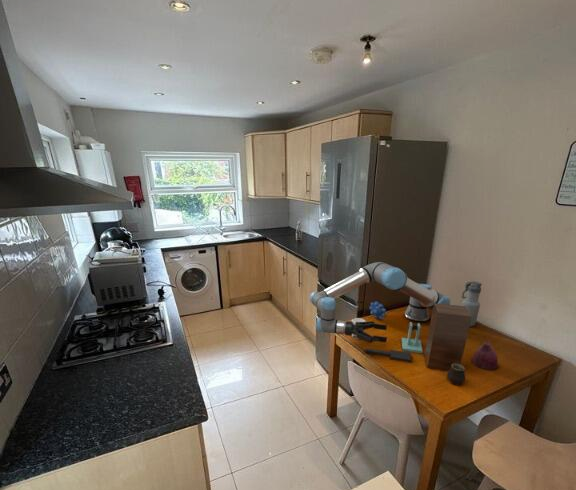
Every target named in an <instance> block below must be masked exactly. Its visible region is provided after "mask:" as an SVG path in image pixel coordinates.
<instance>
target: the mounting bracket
mask: <svg viewBox="0 0 576 490" xmlns="http://www.w3.org/2000/svg"><path fill="white" fill-rule="evenodd" d="M412 324H413V321H412V322H411V321H410V322H409V324H408V332H407V337H401V347H402V348H401V349H402V352H409V353H415V354H423V353H424V352H423V350H424V349H423V346H422V341H421V340H420V339H419V338H420V331H421V329H422V327H421V322H417V324H416V325H417V330H416V331H415V338H411V337H412V331H413V330H412Z"/></svg>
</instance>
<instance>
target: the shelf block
mask: <svg viewBox="0 0 576 490" xmlns="http://www.w3.org/2000/svg"><path fill="white" fill-rule="evenodd" d="M431 312H432V313H431V318H430V324H429V330H428V335H427V340H426V344H425V345H426V346H425V351H424V359H425V363H426V368H427V369H433V370H439V371H445V372H448V371H449V370H450V369H451V365H452V364H460V365H462V360H463V356H464V351H465V347H466V343H467V339H468V335H469V330H470V327H471V326H470V322H471V318H472V316H471V315H470V313H469V311H468V310H467V308H466V306H462V305H456V304H450V305H447V304H438V303H434V307H433V311H431Z"/></svg>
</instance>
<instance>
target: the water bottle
mask: <svg viewBox="0 0 576 490" xmlns="http://www.w3.org/2000/svg"><path fill="white" fill-rule="evenodd" d="M482 285H483V283H482V282H478V281H474V280H472V281H468V282H466V283H465V285H464V289H465V290H463V291H462V295H461V298H462V299H463V300H462V302H461V306H466V308H467V310H468V311H469V313H470V315H471V316H472V318H471V322H470V326H469V327H475V326H476V323H477V320H478V316H479V312H480V307H481V303H480V302H479V298H480V294H481V292H482ZM465 293H466V296H465Z"/></svg>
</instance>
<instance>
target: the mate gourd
mask: <svg viewBox="0 0 576 490" xmlns="http://www.w3.org/2000/svg"><path fill="white" fill-rule="evenodd" d="M465 371H466V368H465V367H464V366H463V365H462V364H461V365H460V364H452V365H451V369H450V370H449V371H447V373H446V375H447V380H448V381H449V382H450V383H451V384H453V385H462V384H463V383H464V382H465V380H466V374H465Z"/></svg>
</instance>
